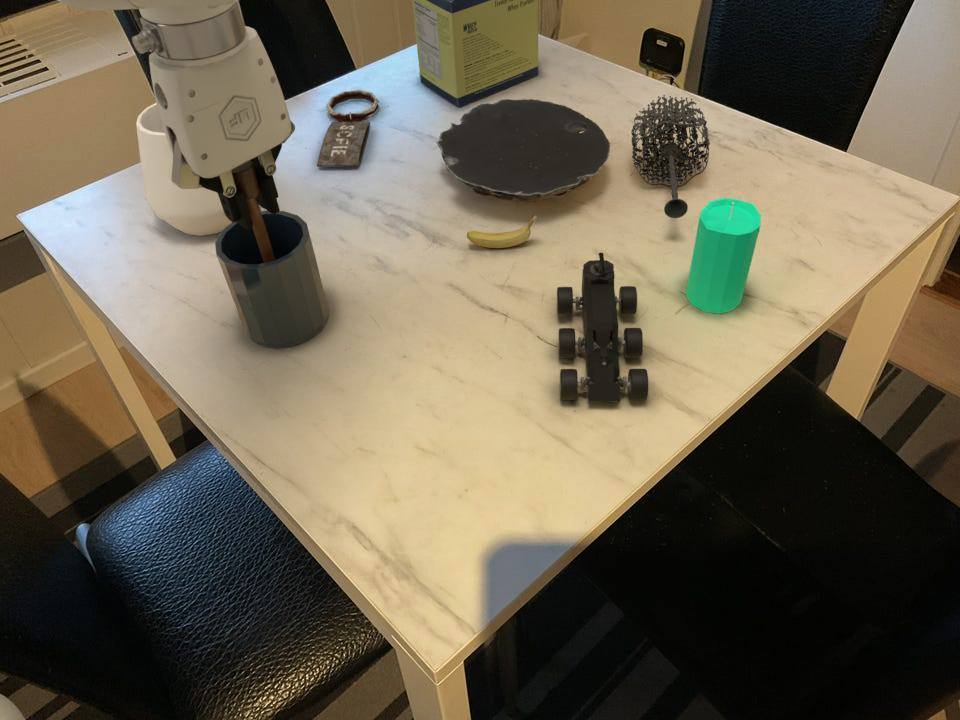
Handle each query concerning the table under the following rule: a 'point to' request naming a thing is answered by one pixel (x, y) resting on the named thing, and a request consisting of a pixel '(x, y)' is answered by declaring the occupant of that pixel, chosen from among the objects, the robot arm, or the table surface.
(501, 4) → the protein box
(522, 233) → the banana
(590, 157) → the board
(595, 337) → the toy vehicle
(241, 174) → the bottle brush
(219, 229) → the cup
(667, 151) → the massage brush
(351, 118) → the keychain
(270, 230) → the container
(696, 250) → the candle
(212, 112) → the robot arm
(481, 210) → the table surface
